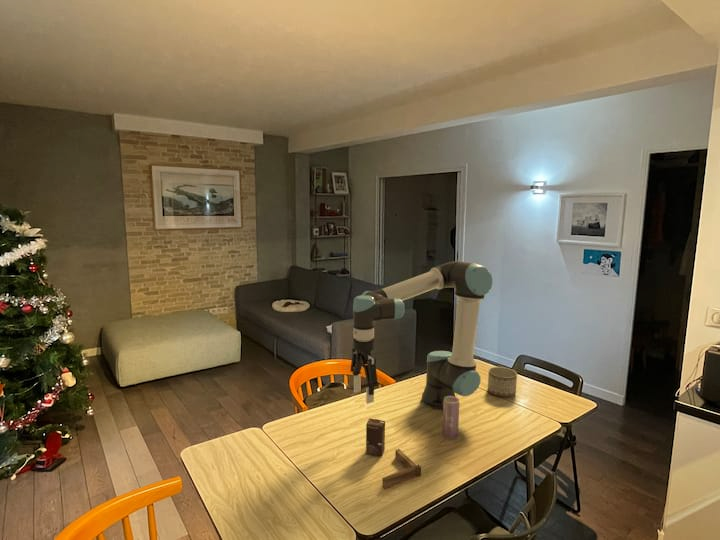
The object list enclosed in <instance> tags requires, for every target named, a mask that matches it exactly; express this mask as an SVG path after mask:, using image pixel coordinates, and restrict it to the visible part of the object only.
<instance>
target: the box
mask: <svg viewBox="0 0 720 540" xmlns="http://www.w3.org/2000/svg"><path fill="white" fill-rule="evenodd" d="M365 429H366V430H365V432H366V433H365V441H366V442H365V454H366V455H368V456H369V455H370V456H375V457H379V458H382V457H383V455H384V452H385V450H386V447H385V443H386V442H385V441H386V439H385V437H386V435H385V433H386V421H385V420H381V419H377V418H368V420H367V422H366V425H365Z"/></svg>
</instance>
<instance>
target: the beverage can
mask: <svg viewBox="0 0 720 540" xmlns="http://www.w3.org/2000/svg"><path fill="white" fill-rule="evenodd" d="M459 420H460V398H458V397H454V396H446V397H445V398H444V401H443V409H442V426H441V427H442V428H441V429H442V430H441V433H442V436H443V437H444V438H445V439H447V440H456V439H457V438H458V436H459V423H460V421H459Z"/></svg>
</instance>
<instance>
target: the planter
mask: <svg viewBox="0 0 720 540" xmlns="http://www.w3.org/2000/svg"><path fill="white" fill-rule="evenodd" d="M487 378H488V379H487V391H488V392H489V393H490V394H491V395H494V396H497V397H504V398H510V397H513V396H515V395H516V393H517V381H518V379H517V378H518V373H517V372H516V370H514V369H511V368H510V367H509V368H508V367H504V366H493V367H490V368H489V369H488V374H487Z"/></svg>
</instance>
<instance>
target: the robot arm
mask: <svg viewBox="0 0 720 540" xmlns="http://www.w3.org/2000/svg"><path fill="white" fill-rule="evenodd" d="M492 287H493V275H492V274H491V271H490V270H489V269H488V268H487V267H486V266H483V265H481V264H478V263H473V262H472V263H471V262H465V261H462V260H455V261H454V260H453V261H449V262H446V263H443V264H440V265H436V266H435V267H431V269H430V270H429V271H427V272H425V273H422V274H420V275H419V274H418V275H416V276H414V277H411V278H409V279H405V280H403V281H399V282H398V283H394V284H392V285H389V286H387V287H384V288H380V289H378V290H375V291H372V290H366V291H364V292H362V294H360V295H357V296H355V297H354V298H353V304H352V313H353V314H352V315H353V327H352V328H353V331H352V334H353V335H352V336H353V341H352V342H353V344H352V347H353V348H352V349H351V355H352V356H351V363H350V372H352V375H353V393H356V394H357V393H359V392H362V375H361V374H362V372H361V370H362V368H363V369H364V374H365V380H366V384H367V385H366V386H365V394H366V395H365V397H366V399H365V403H366V404H371V403H374V402H375V400H374V399H375V387H378V386H379V383H378V374H377V373H378V372H377V366H376V364H377V358H376V357H372V351H373V350H374V349H375V339H374V338H375V322H381V321H382V322H383V321H390V320H398V319H401V318H403V317H404V315H405V313H406V311H405V303H404V301H405V300H409V299H411V298H414V297H416V296H419V295H422V294H425V293H427V292H429V291H432V290H435V289H436V290H443V289H444V288H454V296H455V297H456V298H457V305H456V315H455V326H454V334H453V343H452V352H451V351H447V350H434V351H431V352H429V353H428V354H427V357H426V381H425V387H424V390H423V392H422V394H421V402H422V404H424V405H425V406H426V407H428V408H430V409H435V410H443V401H444V398H445V397H446V396H454V397H456V395H459V396H460V397H468V396H471V395H473V394H475V392H476V391H477V390H478V389H479V387H480V384H481V380H482V379H481V375H480V373H479V372H478V371H476V370H477V369H476V368H477V362H476V360H475V359H474V353H475V345H476V337H477V327H478V320H479V311H480V303H481V301H483V300H484V299H485V296H486V294H488V293H489V292H490V290H491V289H492Z"/></svg>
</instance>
